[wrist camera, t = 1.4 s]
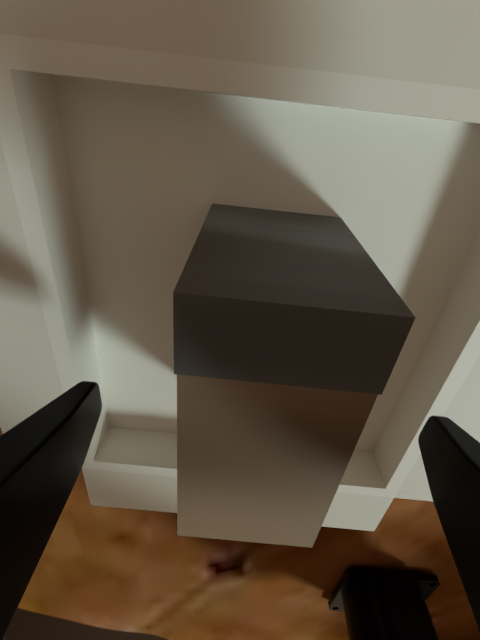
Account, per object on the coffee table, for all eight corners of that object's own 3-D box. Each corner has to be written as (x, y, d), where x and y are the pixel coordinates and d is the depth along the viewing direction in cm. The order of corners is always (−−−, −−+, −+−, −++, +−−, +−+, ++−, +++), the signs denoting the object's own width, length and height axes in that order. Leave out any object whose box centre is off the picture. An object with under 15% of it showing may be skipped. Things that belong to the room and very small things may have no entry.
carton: (414, 491, 19) (432, 536, 17) (54, 457, 19) (29, 499, 17) (748, -31, 8) (917, -77, 6) (-130, -140, 8) (-271, -229, 6)
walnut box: (294, 399, 15) (314, 549, 10) (202, 390, 15) (175, 536, 10) (340, 217, 11) (415, 317, 6) (212, 203, 11) (172, 292, 6)
